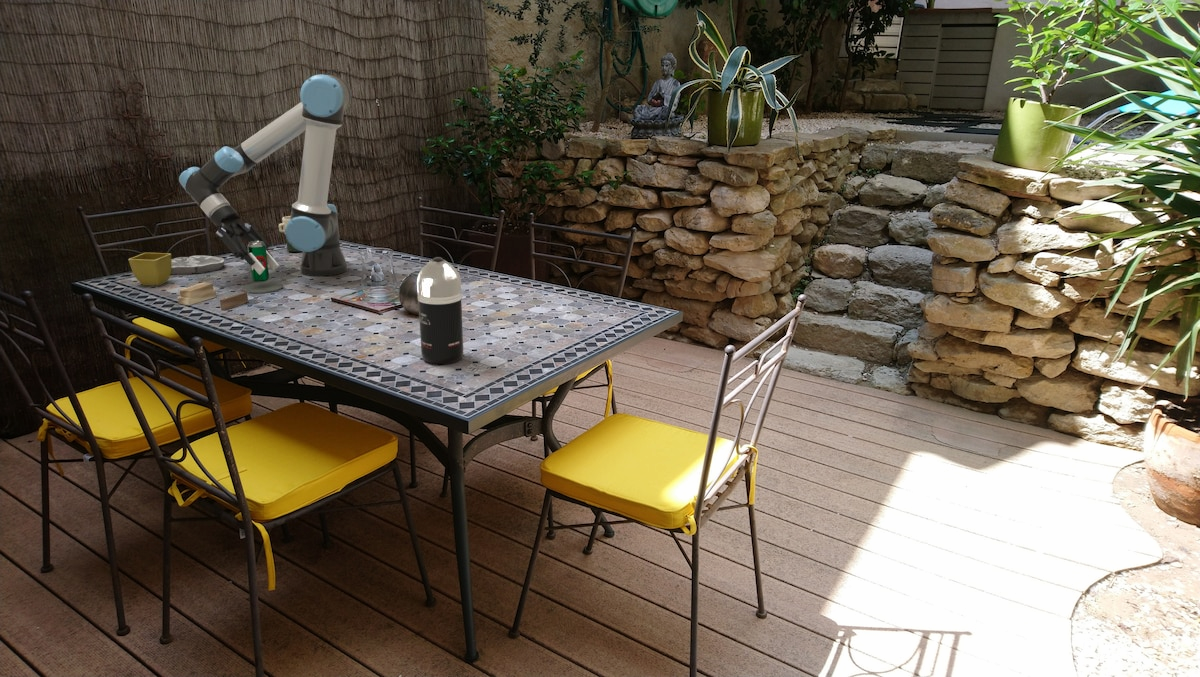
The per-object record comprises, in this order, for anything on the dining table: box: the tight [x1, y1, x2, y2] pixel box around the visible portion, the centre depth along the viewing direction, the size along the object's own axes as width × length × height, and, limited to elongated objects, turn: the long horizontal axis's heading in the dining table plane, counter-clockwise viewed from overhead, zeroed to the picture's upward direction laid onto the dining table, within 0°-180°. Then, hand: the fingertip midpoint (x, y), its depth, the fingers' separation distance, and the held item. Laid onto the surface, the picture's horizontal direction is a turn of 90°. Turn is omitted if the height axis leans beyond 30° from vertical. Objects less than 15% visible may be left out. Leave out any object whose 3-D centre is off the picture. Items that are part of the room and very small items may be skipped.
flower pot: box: [127, 252, 172, 287], centre depth 231 cm, size 9×9×9 cm
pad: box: [241, 280, 284, 294], centre depth 231 cm, size 12×12×1 cm
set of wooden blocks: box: [177, 282, 249, 311], centre depth 214 cm, size 17×10×4 cm, turn 70°
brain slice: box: [170, 255, 225, 276], centre depth 250 cm, size 20×17×3 cm
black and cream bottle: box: [416, 256, 464, 365], centre depth 174 cm, size 10×10×25 cm
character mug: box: [278, 215, 300, 253], centre depth 277 cm, size 11×7×13 cm, turn 137°
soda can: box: [247, 241, 270, 282], centre depth 228 cm, size 5×5×12 cm
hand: (269, 269), depth 227 cm, fingers closed on soda can, 5 cm apart
